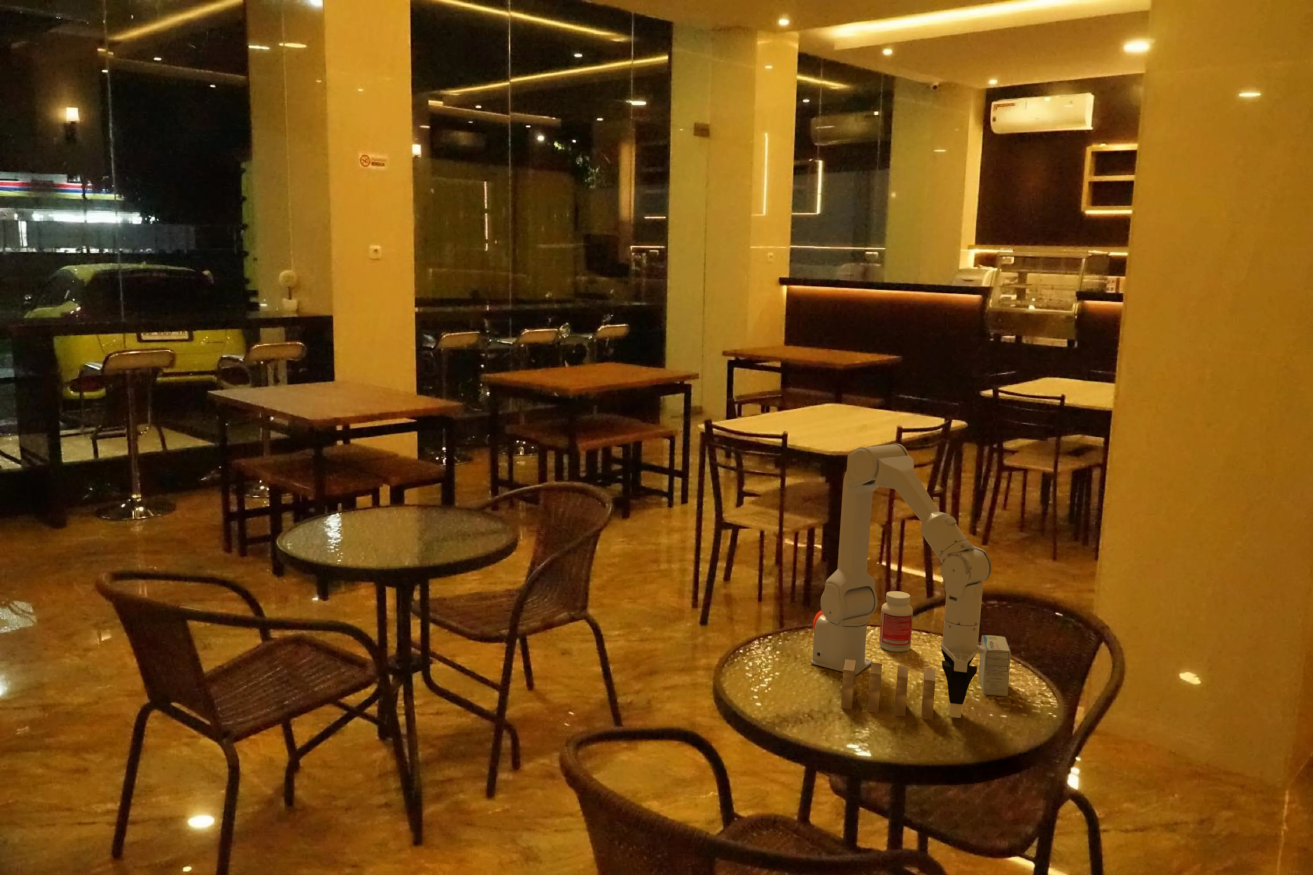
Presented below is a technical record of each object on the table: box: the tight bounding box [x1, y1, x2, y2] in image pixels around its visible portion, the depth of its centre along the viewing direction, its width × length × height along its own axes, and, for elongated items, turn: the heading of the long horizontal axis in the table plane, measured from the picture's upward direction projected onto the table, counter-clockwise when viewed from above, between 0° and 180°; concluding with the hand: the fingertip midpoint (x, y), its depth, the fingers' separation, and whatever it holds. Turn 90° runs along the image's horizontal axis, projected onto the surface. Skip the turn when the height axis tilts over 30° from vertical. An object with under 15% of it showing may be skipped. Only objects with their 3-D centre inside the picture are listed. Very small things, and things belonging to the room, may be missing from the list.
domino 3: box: [894, 665, 909, 717], centre depth 179 cm, size 2×5×7 cm, turn 165°
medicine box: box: [978, 634, 1012, 697], centre depth 189 cm, size 8×4×9 cm, turn 168°
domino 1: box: [840, 659, 856, 710], centre depth 181 cm, size 2×5×7 cm, turn 166°
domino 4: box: [921, 668, 936, 721], centre depth 178 cm, size 2×5×7 cm, turn 165°
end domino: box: [948, 701, 963, 719], centre depth 176 cm, size 2×5×7 cm, turn 165°
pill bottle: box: [878, 590, 914, 653], centre depth 208 cm, size 6×6×11 cm
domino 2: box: [867, 661, 883, 713], centre depth 180 cm, size 2×5×7 cm, turn 166°
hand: (955, 696), depth 177 cm, fingers closed on end domino, 5 cm apart
